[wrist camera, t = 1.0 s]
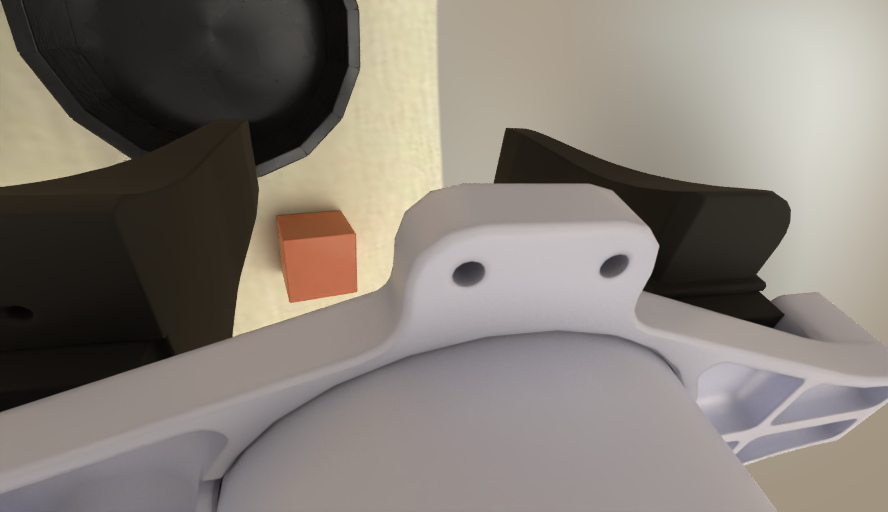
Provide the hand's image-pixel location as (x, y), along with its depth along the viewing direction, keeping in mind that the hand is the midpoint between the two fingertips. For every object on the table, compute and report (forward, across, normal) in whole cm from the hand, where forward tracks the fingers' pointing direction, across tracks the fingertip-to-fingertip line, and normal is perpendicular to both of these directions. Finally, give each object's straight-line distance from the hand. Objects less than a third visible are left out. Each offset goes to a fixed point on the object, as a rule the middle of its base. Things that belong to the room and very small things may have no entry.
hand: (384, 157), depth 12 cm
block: (+12, +3, +12) cm, 17 cm away
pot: (+14, +7, 0) cm, 16 cm away
